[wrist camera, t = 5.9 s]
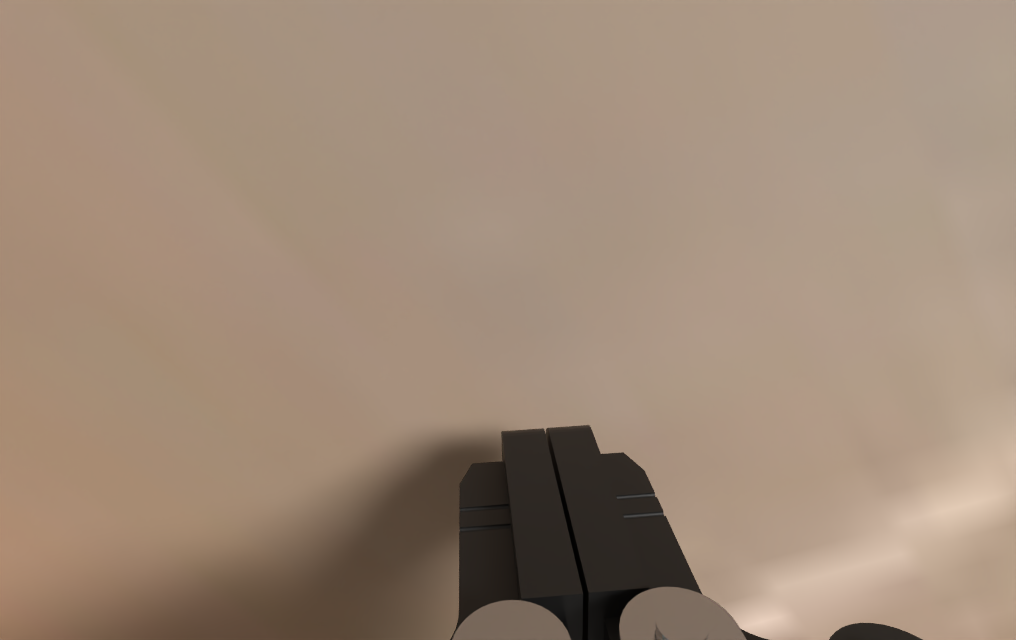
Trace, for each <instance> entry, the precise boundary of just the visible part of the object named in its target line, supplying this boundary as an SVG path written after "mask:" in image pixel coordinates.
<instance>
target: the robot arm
mask: <svg viewBox="0 0 1016 640" xmlns="http://www.w3.org/2000/svg"><path fill="white" fill-rule="evenodd" d="M501 438H502V460H503V462H489V463H475V464H472V465H471V467H470V468H469V470H468V472H467V473H466V475H465V477H464V478H463V480H462V481H461V483H460V533H459V618H458V623H457V626H456V629H455V631H454V634H453V636H452V638H451V639H450V640H768V639H764V638H761V637H758V636H755V635H753V634H750V633H748V632H746V631H744V630H742V629H740V628H739V626H738V625H737V623H736V622H735V620H734V619H733V617H732V616H731V615H730V614H729V613H728V612H727V611H726V610H725V609H724V608H723V607H721V606H720V605H719V604H718V603H716V602H715V601H713V600H712V599H710V598H708V597H706V596H704V595H703V594H702V593H701V591H700V589H699V587H698V585H697V582H696V580H695V578H694V576H693V574H692V572H691V570H690V567H689V565H688V563H687V561H686V559H685V557H684V555H683V552H682V550H681V548H680V546H679V544H678V542H677V539H676V537H675V535H674V533H673V531H672V529H671V527H670V524H669V522H668V520H667V518H666V516H664V514H663V509H662V507H661V505H660V503H659V501H658V499H657V497H655V492H654V490H653V488H652V486H651V484H650V481H649V479H648V477H647V475H646V473H645V471H644V470H643V469H642V468H641V467H640V466H639V465H637V464H636V463H635V462H634V461H633V460H632V459H630V458H629V457H628V456H627V455H626V454H624V453H610V454H600V451H599V448H598V446H597V443H596V440H595V438H594V435H593V432H592V430H591V427H590V426H589V425H584V426H570V427H556V428H547V429H546V434H545V431H544V429H529V430H515V431H502V432H501ZM829 640H922V639H920V638H918V637H916V636H914V635H912V634H910V633H908V632H905V631H902V630H900V629H897V628H894V627H890V626H886V625H881V624H875V623H857V624H851V625H848V626H845V627H842V628H841V629H839V630H838V631H836V632H835V633H834V634H833V635H832V636H831V637H830V639H829Z"/></svg>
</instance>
